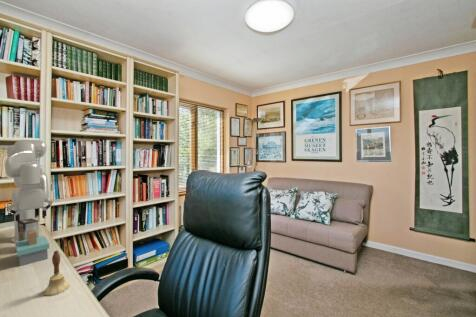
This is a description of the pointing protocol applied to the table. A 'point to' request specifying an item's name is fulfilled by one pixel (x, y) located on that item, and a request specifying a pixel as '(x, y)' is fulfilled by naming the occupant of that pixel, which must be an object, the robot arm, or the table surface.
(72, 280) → the table surface
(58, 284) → the hand bell
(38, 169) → the robot arm
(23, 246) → the lid
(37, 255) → the box
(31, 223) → the coffee box
